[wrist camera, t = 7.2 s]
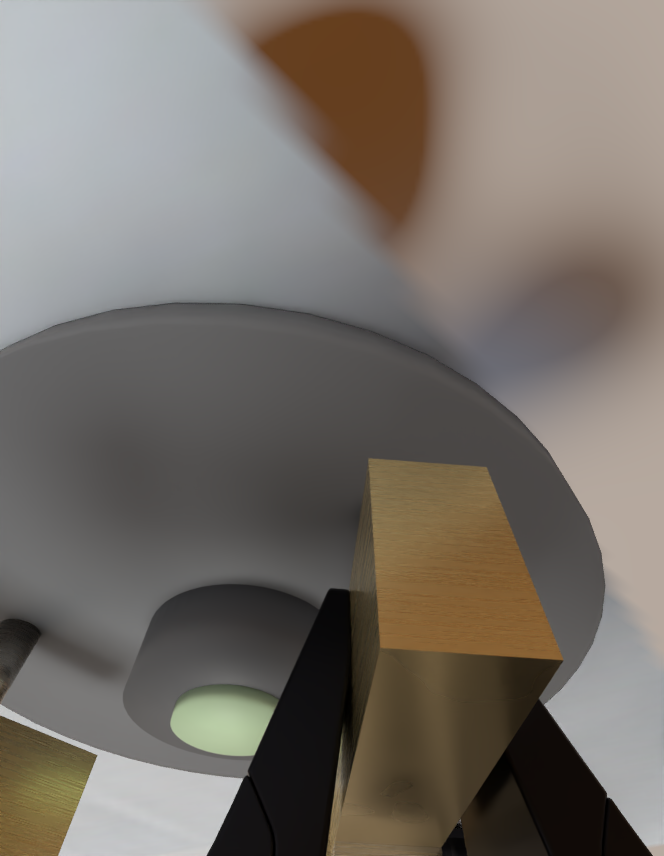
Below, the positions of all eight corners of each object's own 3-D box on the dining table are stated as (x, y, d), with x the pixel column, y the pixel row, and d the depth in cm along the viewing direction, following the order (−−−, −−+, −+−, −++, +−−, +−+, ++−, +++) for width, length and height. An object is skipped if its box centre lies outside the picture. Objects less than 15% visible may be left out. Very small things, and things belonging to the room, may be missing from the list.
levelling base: (741, 344, 10) (916, 445, 7) (483, 762, 21) (505, 867, 18) (-279, 262, 9) (-576, 330, 6) (29, 733, 21) (-24, 835, 18)
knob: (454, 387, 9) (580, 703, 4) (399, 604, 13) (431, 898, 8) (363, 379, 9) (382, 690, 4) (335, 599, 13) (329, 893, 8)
